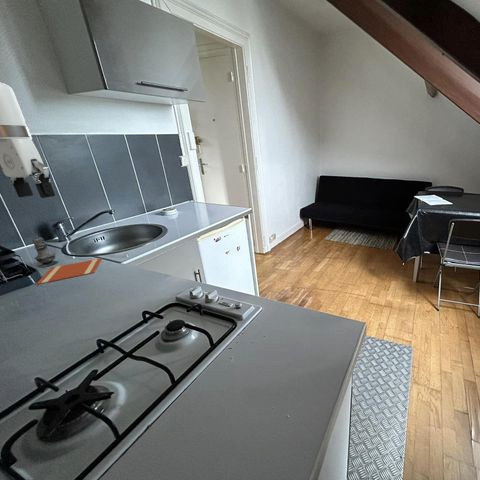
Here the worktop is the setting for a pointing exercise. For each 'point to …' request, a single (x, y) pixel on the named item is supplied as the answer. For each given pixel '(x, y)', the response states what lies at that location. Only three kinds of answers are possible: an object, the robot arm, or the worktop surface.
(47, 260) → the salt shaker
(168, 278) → the worktop surface
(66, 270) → the towel
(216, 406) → the worktop surface
